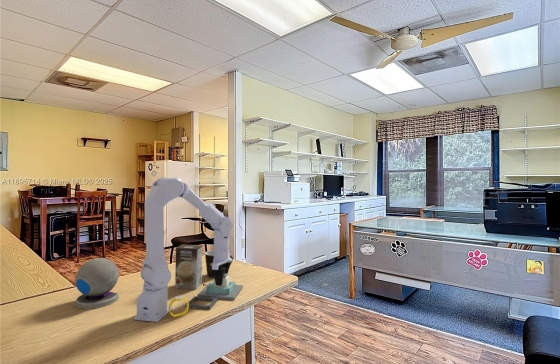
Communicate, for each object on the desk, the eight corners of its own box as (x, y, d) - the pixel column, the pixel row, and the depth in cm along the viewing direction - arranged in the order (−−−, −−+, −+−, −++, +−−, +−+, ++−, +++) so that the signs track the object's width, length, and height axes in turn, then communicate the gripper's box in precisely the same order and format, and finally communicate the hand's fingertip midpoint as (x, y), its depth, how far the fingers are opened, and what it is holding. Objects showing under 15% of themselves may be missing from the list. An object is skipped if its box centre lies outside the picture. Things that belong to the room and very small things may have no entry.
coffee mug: (200, 277, 130) (201, 254, 129) (211, 271, 138) (211, 249, 138) (224, 280, 126) (225, 256, 126) (233, 273, 134) (233, 252, 134)
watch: (186, 312, 97) (188, 294, 97) (188, 316, 94) (190, 297, 95) (167, 315, 94) (169, 296, 94) (169, 319, 91) (170, 299, 92)
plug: (226, 291, 111) (226, 276, 111) (213, 291, 112) (214, 275, 111) (229, 288, 114) (229, 273, 114) (217, 287, 115) (217, 272, 115)
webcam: (126, 296, 108) (126, 255, 108) (96, 311, 96) (96, 265, 96) (98, 292, 112) (98, 252, 111) (65, 306, 99) (65, 262, 99)
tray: (210, 309, 98) (210, 306, 98) (185, 307, 100) (185, 304, 100) (217, 300, 105) (217, 297, 105) (194, 298, 107) (194, 296, 107)
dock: (234, 300, 106) (234, 291, 106) (197, 297, 108) (197, 289, 108) (243, 287, 118) (243, 280, 118) (209, 285, 120) (209, 278, 120)
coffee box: (174, 288, 116) (174, 247, 116) (181, 282, 123) (181, 244, 122) (196, 289, 115) (197, 248, 115) (202, 283, 122) (202, 244, 122)
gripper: (225, 252, 105) (225, 290, 105) (237, 243, 119) (236, 276, 120) (206, 251, 106) (206, 289, 106) (220, 242, 120) (220, 275, 121)
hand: (221, 282), depth 113 cm, fingers open, 5 cm apart
